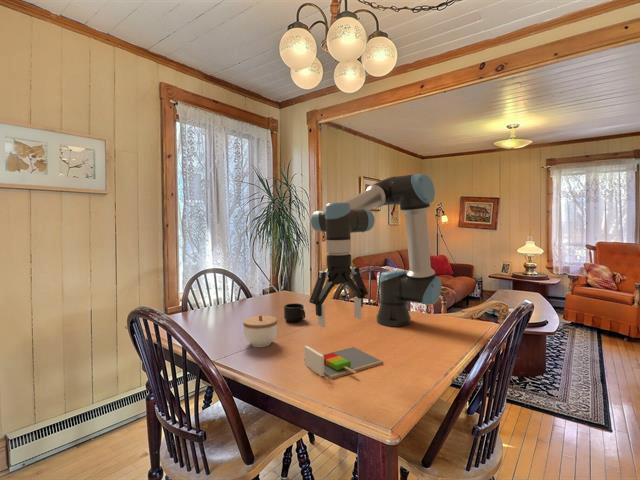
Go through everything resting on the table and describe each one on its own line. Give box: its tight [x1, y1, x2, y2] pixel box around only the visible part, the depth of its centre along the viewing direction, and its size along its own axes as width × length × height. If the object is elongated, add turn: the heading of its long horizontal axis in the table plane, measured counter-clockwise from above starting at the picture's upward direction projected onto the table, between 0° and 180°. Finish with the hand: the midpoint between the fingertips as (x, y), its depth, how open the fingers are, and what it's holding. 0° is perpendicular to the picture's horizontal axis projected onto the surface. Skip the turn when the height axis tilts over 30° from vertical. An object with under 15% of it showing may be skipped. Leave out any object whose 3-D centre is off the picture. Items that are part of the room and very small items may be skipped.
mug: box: [283, 302, 306, 323], centre depth 161 cm, size 12×9×7 cm
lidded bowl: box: [243, 314, 278, 348], centre depth 131 cm, size 13×13×11 cm
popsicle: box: [323, 353, 358, 374], centre depth 108 cm, size 6×15×2 cm, turn 34°
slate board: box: [304, 346, 384, 380], centre depth 114 cm, size 20×16×1 cm
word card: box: [304, 345, 325, 377], centre depth 108 cm, size 1×10×6 cm, turn 32°
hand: (340, 321), depth 108 cm, fingers open, 13 cm apart
